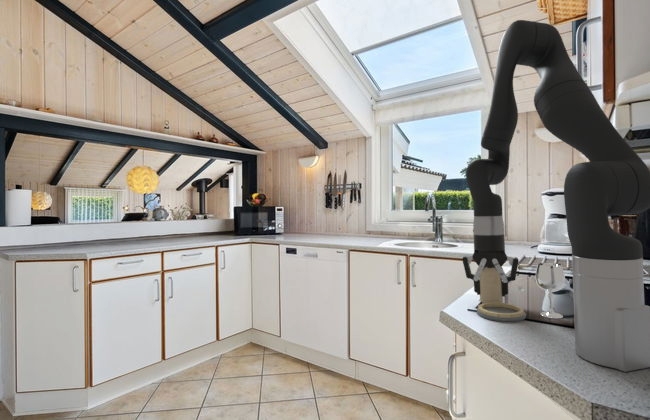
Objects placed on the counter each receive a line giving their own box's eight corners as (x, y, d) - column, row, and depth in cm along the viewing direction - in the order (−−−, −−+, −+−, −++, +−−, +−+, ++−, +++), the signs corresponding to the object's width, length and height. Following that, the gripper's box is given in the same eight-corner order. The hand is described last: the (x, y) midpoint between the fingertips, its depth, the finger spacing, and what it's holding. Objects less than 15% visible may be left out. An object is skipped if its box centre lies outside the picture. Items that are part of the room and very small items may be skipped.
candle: (481, 304, 91) (480, 267, 91) (478, 299, 96) (477, 263, 96) (504, 305, 89) (503, 267, 89) (500, 300, 94) (499, 263, 94)
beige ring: (536, 318, 78) (536, 311, 78) (497, 324, 76) (496, 316, 76) (503, 306, 88) (503, 300, 88) (467, 310, 86) (467, 304, 86)
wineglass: (540, 318, 78) (538, 266, 78) (534, 311, 84) (532, 262, 84) (570, 320, 76) (568, 266, 76) (561, 312, 82) (559, 262, 82)
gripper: (518, 231, 92) (520, 293, 92) (461, 231, 99) (463, 289, 99) (519, 233, 86) (522, 301, 86) (458, 234, 92) (461, 296, 92)
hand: (490, 294), depth 92 cm, fingers closed on candle, 5 cm apart
